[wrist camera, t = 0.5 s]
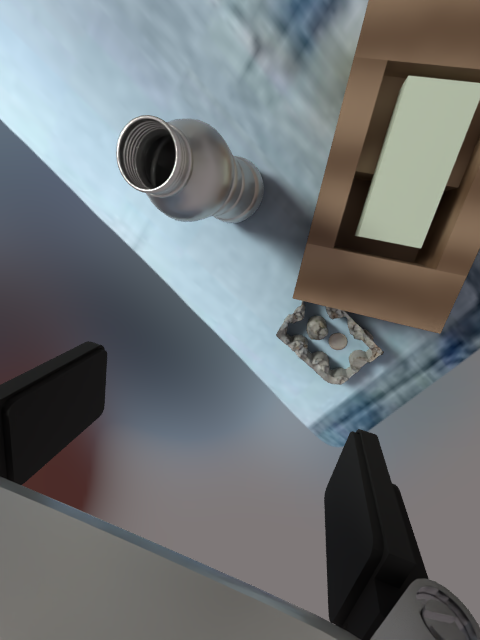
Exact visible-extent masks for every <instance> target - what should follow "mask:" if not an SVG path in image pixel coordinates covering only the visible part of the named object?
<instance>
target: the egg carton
mask: <svg viewBox="0 0 480 640" xmlns="http://www.w3.org/2000/svg"><path fill="white" fill-rule="evenodd" d="M326 311H327V314H328V315H329V317H330V318H331V319H335V318H342V317H346V318H347V319H348V328H349V331H350V334H351V335H353V336H354V339H358V340H362V341H363V342H364V343H365V344H366V345H367V346H368V347H369V348H370V349H369V350H367V351H366V352H365V351H362V350H355V351H353V352H352V353H351V354H350V356H349V362H350V367H348V368H347V369H343V368H335V369H334V370H331V369H330V368H329V359H328V356H327V355H326V354H325V353H324V352H321V351H317V352H314V353H310V352H309V351H308V341H307V339H306V338H305V337H304V336H303V335H299V334H298V335H294V336H292V337H291V336H289V335H288V334H287V333H286V332H287V328H288V323H289V322H290V323H295V322H296V321H301V320H302V319H303V318H304V313H305V304H304V301H302V305H301V306H299V307H298V308H297V309H296V310H295V311H294V313H293V314H292V315H288V316H287V317H286V318H285V320H284V323H283V324H282V326H281V327H280V329H279V330H278V332H277V334H276V336H277V337H278V338H279V339H280V340H281V341H283V342H284V343H285V344H286V345H288V346H289V347H290V348H291V349H292V351H294V352H295V353H296V354H297V355H298V357H299V358H301V359H302V360H303V361H304V362H306V363H307V364H308V365H309V366H310V367H311V368H312V369H314V371H315V372H316V373H317V374H319V375H320V376H321V377H322V378H323V379H324V380H325V381H327V382H328V383H331V384H340V385H341V384H343V383H344V382H346V381H347V380H349V378H350V377H351V376H352V375H354V374H355V373H357V372H358V371H359V370H360V368H361V367H362V366H364V365H365V364H366V363H367V362H369V363H370V362H372V361H373V360H374V359H376V358H377V357H378V356H379V355H382V354H383V353H384V351H382V350H381V349H380V348H379V347H378V346H377V345H376V344H375V343H374V342H373V336H372V335H371V334H370V333H369V332H368V331H367V330H365V329H362V328H361V327H360V326H359V325H358V324H356V323H355V322H354V321H353V319H352V318H351V317H350V316H349V315H348V314H347V313H346V312H345V311H343V310H339V309H335V308H331V307H327V306H326ZM307 333H308V335H309V337H310V338H311V339H315V340H321V339H323V338H324V337H326V336H327V335H328V329H327V325H326V321H325V319H324V318H323V317H321V316H313V317H311V318H310V319H309V320H308V323H307ZM328 342H329V345H330V346H331V348H333V349H335V350H341V349H343V348H345V346H346V345H347V338H346V336H345V335H343V334H341V333H334V334H332V335H331V336H330V337H329V340H328Z"/></svg>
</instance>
